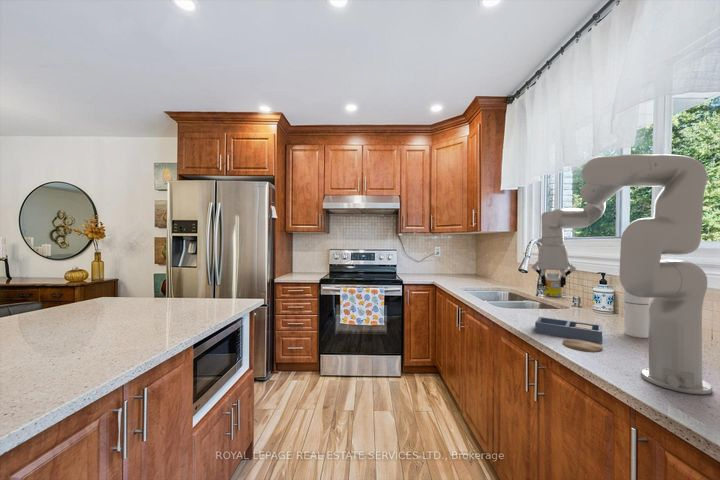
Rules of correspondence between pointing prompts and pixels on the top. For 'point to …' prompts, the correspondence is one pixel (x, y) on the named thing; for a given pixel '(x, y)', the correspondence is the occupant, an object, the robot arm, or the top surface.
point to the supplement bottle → (553, 286)
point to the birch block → (583, 326)
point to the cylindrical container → (636, 315)
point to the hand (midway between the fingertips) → (553, 285)
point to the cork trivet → (582, 345)
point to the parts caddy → (568, 329)
